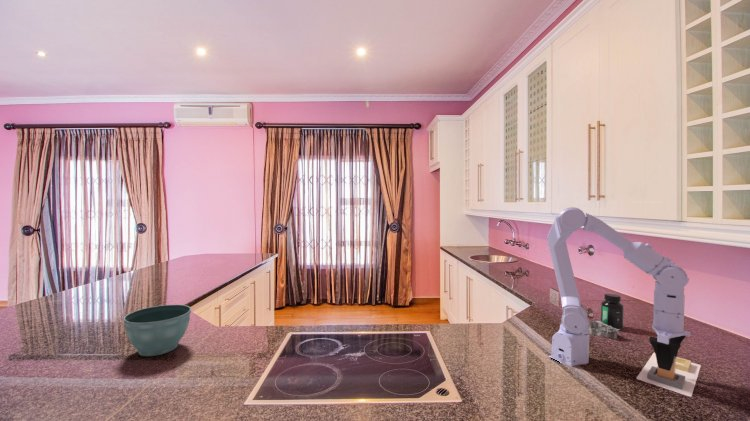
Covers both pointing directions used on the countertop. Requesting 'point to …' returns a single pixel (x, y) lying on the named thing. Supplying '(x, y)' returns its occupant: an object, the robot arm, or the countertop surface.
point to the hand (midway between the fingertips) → (667, 364)
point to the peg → (667, 373)
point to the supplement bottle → (612, 311)
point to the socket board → (683, 375)
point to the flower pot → (157, 328)
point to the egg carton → (602, 329)
